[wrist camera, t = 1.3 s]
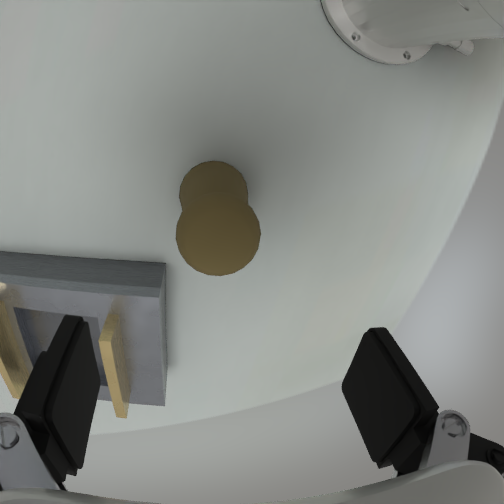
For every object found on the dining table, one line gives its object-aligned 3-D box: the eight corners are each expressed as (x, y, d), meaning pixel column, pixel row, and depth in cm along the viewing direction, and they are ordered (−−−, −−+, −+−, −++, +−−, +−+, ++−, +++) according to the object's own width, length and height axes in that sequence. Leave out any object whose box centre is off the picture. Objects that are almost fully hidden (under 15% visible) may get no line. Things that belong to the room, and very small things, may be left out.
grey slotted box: (165, 263, 30) (154, 324, 22) (167, 367, 36) (163, 432, 28) (-6, 250, 27) (-52, 297, 18) (21, 349, 33) (-5, 402, 24)
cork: (247, 224, 30) (270, 287, 20) (181, 228, 29) (172, 294, 19) (247, 159, 27) (273, 191, 18) (177, 162, 27) (161, 197, 17)
